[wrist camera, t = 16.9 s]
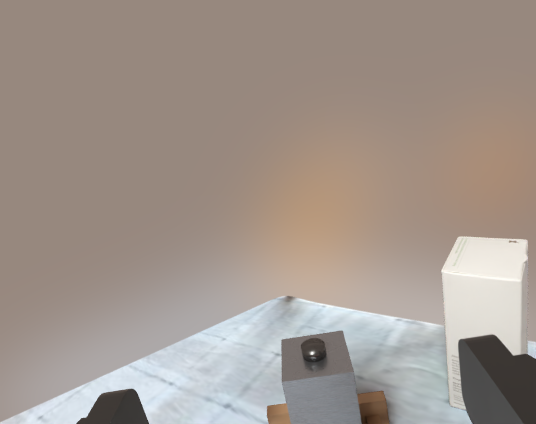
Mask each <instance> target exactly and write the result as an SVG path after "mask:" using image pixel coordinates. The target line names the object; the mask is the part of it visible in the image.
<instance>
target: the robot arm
mask: <svg viewBox="0 0 536 424" xmlns="http://www.w3.org/2000/svg"><path fill="white" fill-rule="evenodd" d="M458 353H459V365H460V377H461V390H462V396H463V401H464V404H465V407H466V410H467V413H468V415H469V417H470V420H471V422H472V423H473V424H536V359H535V358H533V357H531V356H529V355H528V354H520V355H514V356H513V355H512V353H511V352H510V351H509V350H508V349H507V348H506V346H505V345H504V344H503V343H502V342H501V341H500V339H499V338H498V337H497V336H495V335H493V334H491V335H484V336H478V337H471V338H465V339H460V340H459V342H458ZM76 424H149V422H148V420H147V417H146V415H145V412H144V409H143V407H142V404H141V401H140V399H139V396H138V394H137V392H136V391H135V390H134V389H126V390H119V391H113V392H106V393H103V394H101V395H100V396H99V397H98V399H97V401H96V402H95V404H94V406H93V407H92V409H91V411H90V412H89V414H88V416H87V418H81V419H80V420H79V421H78V422H77V423H76Z"/></svg>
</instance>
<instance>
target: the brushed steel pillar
mask: <svg viewBox="0 0 536 424" xmlns="http://www.w3.org/2000/svg"><path fill="white" fill-rule="evenodd" d="M282 385H283V389H284V394H285V399H286V403H287V408H288V413H289V417H290V422H291V424H362V423H361V416H360V410H359V403H358V397H357V390H356V384H355V377H354V371H353V367H352V364H351V360H350V356H349V353H348V349H347V345H346V342H345V338H344V334H343V331H336V332H330V333H323V334H316V335H310V336H303V337H296V338H290V339H283V340H282Z"/></svg>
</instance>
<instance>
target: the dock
mask: <svg viewBox="0 0 536 424" xmlns="http://www.w3.org/2000/svg"><path fill="white" fill-rule="evenodd" d="M357 397H358V403H359V410H360V416H361V423H362V424H389V418H388V411H387V403H386V398H385V395H384V393H383V391H377V392H369V393H362V394H357ZM267 418H268V422H269V424H291V422H290V417H289V413H288V408H287V403H286V404H278V405H270V406H267Z"/></svg>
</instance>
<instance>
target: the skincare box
mask: <svg viewBox="0 0 536 424" xmlns="http://www.w3.org/2000/svg"><path fill="white" fill-rule="evenodd" d="M441 272H442V284H443V302H444V318H445V319H444V320H445V336H446V354H447V370H448V388H449V404H450V406H452V407H455V408H459V409H462V410H466V407H465V404H464V401H463V396H462V390H461V377H460V365H459V353H458V342H459V340H460V339H465V338H471V337H478V336H484V335H491V334H493V335H495V336H497V337H498V338H499V339H500V341H501V342H502V343H503V344H504V345H505V346H506V348H507V349H508V350H509V351H510V352H511V353H512V355H513V356H514V355H520V354H527V337H528V333H527V332H528V331H527V330H528V242H527V240H522V239H499V238H498V239H497V238H479V237H458V239H457V241H456V243H455V245H454V247H453V249H452V250H451V252H450V254H449V256H448V258H447V260H446V262H445V264H444V266H443V268H442V270H441ZM466 411H467V410H466Z"/></svg>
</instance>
